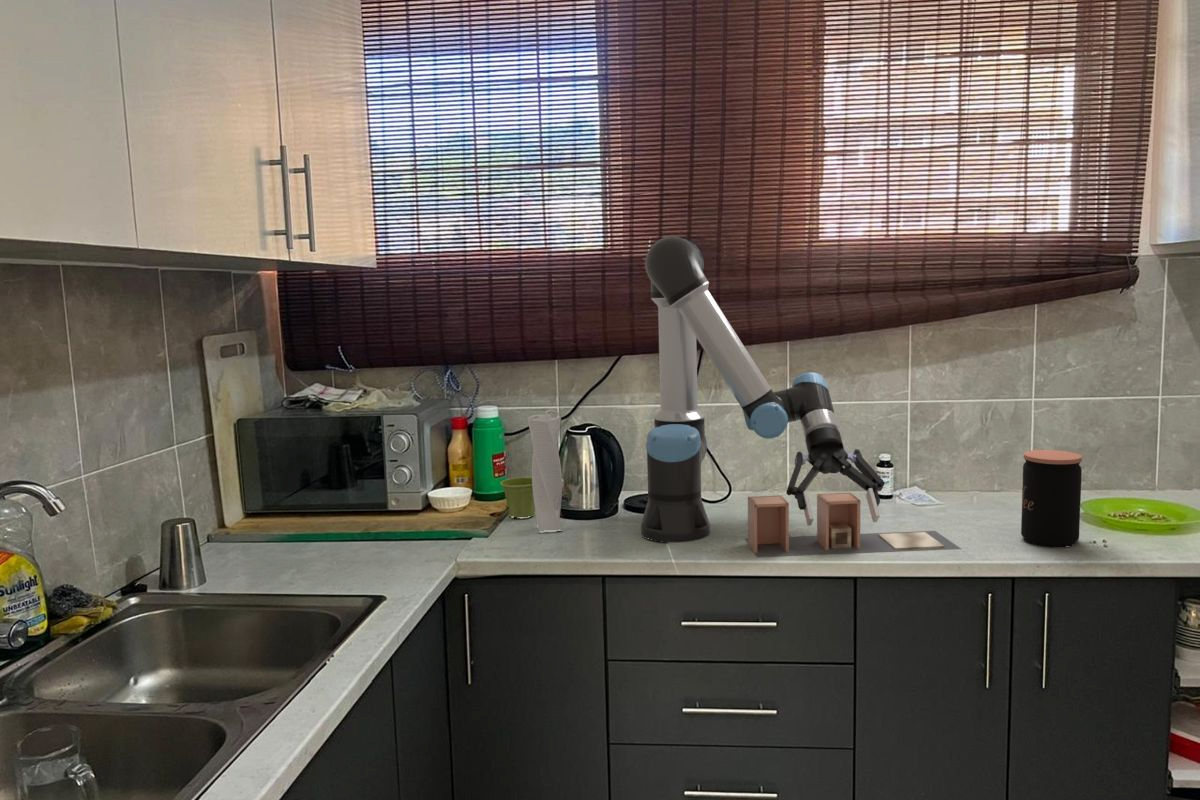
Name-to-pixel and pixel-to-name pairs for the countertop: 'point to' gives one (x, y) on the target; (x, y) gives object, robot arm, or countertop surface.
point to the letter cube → (839, 535)
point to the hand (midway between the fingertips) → (843, 520)
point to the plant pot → (519, 496)
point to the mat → (867, 545)
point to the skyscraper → (546, 470)
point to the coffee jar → (1051, 498)
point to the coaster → (910, 541)
